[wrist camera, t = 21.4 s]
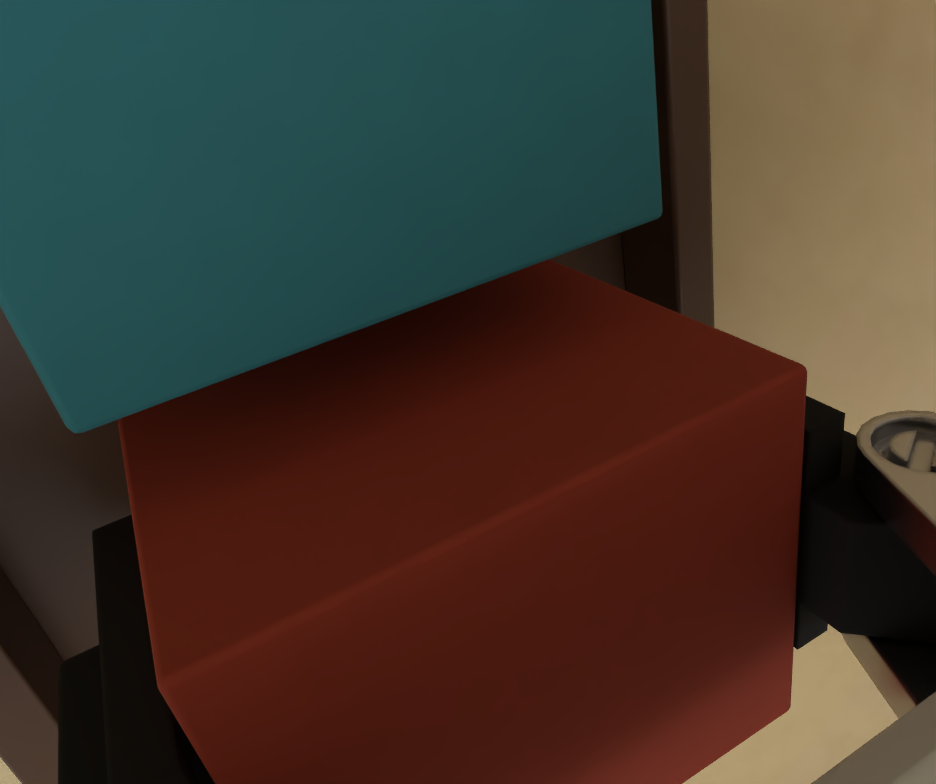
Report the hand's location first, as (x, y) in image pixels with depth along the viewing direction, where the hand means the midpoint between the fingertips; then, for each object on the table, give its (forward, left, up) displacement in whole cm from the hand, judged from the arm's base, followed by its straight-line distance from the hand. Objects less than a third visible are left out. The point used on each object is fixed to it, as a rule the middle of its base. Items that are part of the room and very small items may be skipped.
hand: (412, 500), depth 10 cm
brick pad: (0, 0, -1) cm, 1 cm away
